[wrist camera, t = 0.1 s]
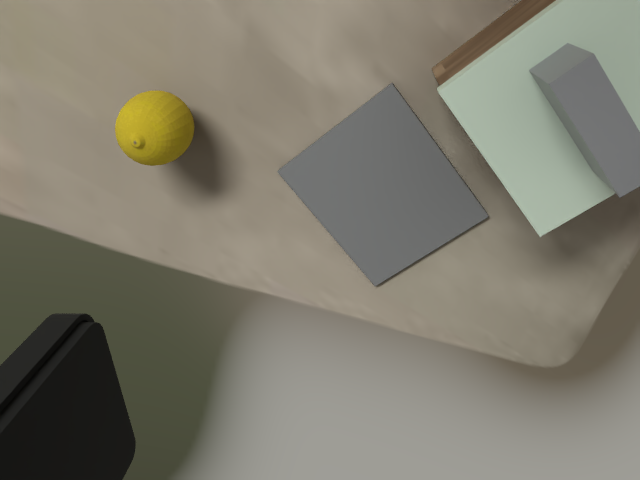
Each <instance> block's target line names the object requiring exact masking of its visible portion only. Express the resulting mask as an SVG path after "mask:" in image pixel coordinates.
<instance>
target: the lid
mask: <svg viewBox="0 0 640 480" xmlns="http://www.w3.org/2000/svg"><path fill="white" fill-rule="evenodd" d="M437 91H438V93H439V94H440V96H441V97H442V98H443V100H444V101H445V103H446V104H447V105H448V107H449V108H450V110H451V111H452V113H453V114H454V115H455V117H456V118H457V120H458V121H459V123H460V124H461V125H462V127H463V128H464V130H465V131H466V132H467V134H468V135H469V137H470V138H471V140H472V141H473V142H474V144H475V145H476V147H477V148H478V150H479V151H480V152H481V154H482V155H483V157H484V158H485V160H486V161H487V162H488V164H489V165H490V167H491V168H492V169H493V171H494V172H495V174H496V175H497V177H498V178H499V179H500V181H501V182H502V184H503V185H504V187H505V188H506V189H507V191H508V192H509V194H510V195H511V197H512V198H513V199H514V201H515V202H516V204H517V205H518V206H519V208H520V209H521V211H522V212H523V214H524V215H525V216H526V218H527V219H528V221H529V222H530V224H531V225H532V226H533V228H534V229H535V231H536V232H537V234H538V235H539V236H540V237H541V236H543V235H544V234H546V233H548V232H550V231H551V230H553V229H555V228H557V227H558V226H560V225H562V224H563V223H565V222H567V221H569V220H570V219H572V218H574V217H576V216H577V215H579V214H581V213H583V212H584V211H586V210H588V209H589V208H591V207H593V206H595V205H596V204H598V203H600V202H602V201H603V200H605V199H607V198H609V197H610V196H612V195H614V194H615V193H616V194H617V195H618V196H619V197H622V196H624V195H626V194H627V193H629V192H631V191H633V190H634V189H636V188H638V187H640V0H556V1H554V2H553V3H552V4H550V5H549V6H547V7H546V8H545V9H543V10H542V11H541V12H539V13H538V14H537V15H535V16H534V17H533V18H531V19H530V20H529V21H527V22H526V23H524V24H523V25H522V26H520V27H519V28H518V29H516V30H515V31H514V32H512V33H511V34H510V35H508V36H507V37H505V38H504V39H503V40H501V41H500V42H499V43H497V44H496V45H495V46H493V47H492V48H491V49H489V50H488V51H487V52H485V53H484V54H482V55H481V56H480V57H478V58H477V59H476V60H474V61H473V62H472V63H470V64H469V65H468V66H466V67H465V68H463V69H462V70H461V71H459V72H458V73H457V74H455V75H454V76H453V77H451V78H450V79H449V80H447V81H446V82H445V83H443V84H442V85H440V86H439V87H438V88H437Z"/></svg>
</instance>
